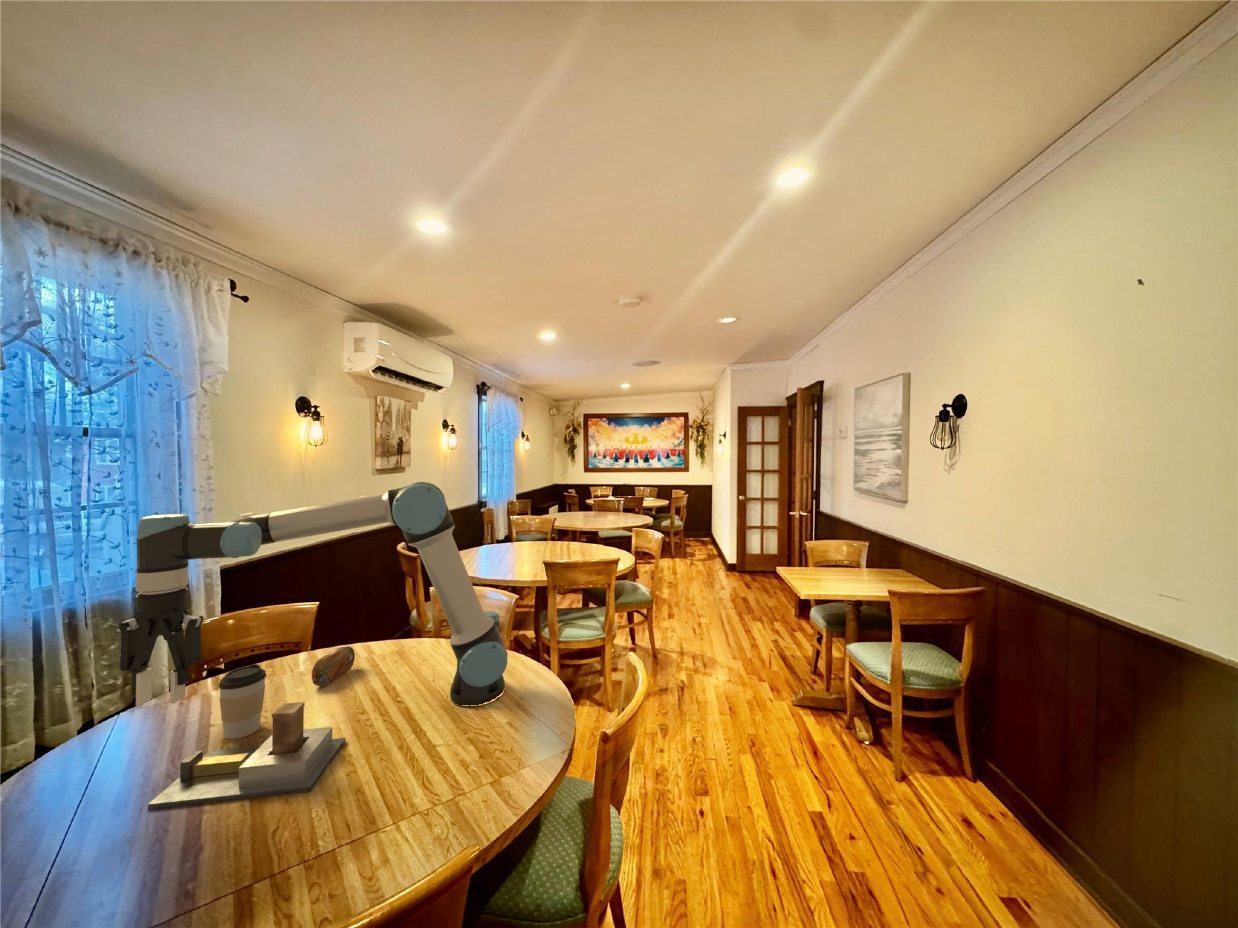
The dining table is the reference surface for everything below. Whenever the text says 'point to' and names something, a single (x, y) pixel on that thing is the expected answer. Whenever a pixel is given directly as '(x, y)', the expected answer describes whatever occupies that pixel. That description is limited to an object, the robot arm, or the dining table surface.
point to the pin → (210, 765)
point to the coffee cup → (242, 700)
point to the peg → (288, 728)
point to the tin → (333, 666)
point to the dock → (258, 773)
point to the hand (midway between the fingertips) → (160, 700)
